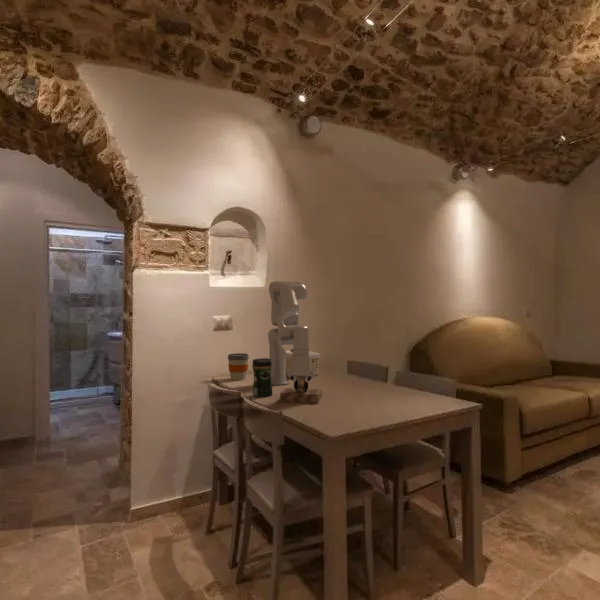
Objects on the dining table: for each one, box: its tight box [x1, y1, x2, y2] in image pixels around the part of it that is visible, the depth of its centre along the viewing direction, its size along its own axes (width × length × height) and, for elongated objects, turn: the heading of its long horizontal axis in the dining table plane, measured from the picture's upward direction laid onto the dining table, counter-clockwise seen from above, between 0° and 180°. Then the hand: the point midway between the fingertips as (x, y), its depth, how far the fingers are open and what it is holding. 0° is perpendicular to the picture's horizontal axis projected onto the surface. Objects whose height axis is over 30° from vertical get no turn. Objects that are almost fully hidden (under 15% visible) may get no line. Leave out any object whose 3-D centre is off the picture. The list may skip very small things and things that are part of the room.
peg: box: [297, 376, 306, 393], centre depth 206 cm, size 4×4×10 cm
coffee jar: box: [251, 357, 273, 398], centre depth 216 cm, size 10×8×19 cm
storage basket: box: [285, 350, 321, 376], centre depth 278 cm, size 24×16×15 cm
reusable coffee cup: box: [227, 352, 250, 381], centre depth 262 cm, size 13×13×15 cm
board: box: [279, 387, 323, 404], centre depth 206 cm, size 18×12×4 cm, turn 79°
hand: (301, 389), depth 206 cm, fingers closed on peg, 4 cm apart
